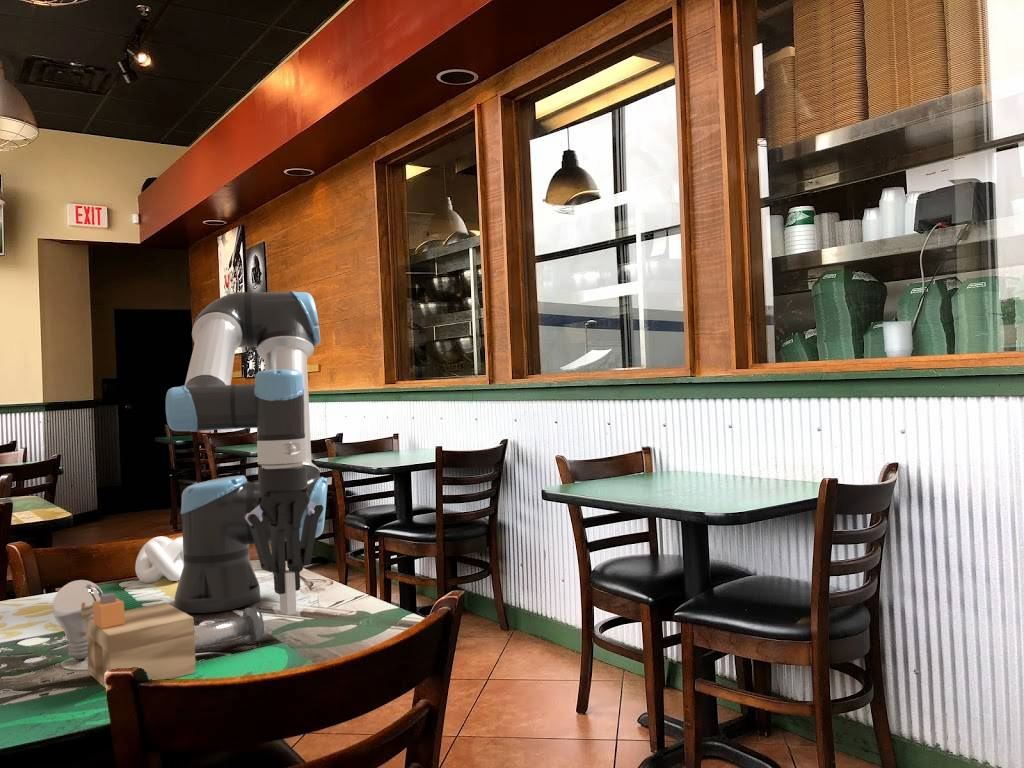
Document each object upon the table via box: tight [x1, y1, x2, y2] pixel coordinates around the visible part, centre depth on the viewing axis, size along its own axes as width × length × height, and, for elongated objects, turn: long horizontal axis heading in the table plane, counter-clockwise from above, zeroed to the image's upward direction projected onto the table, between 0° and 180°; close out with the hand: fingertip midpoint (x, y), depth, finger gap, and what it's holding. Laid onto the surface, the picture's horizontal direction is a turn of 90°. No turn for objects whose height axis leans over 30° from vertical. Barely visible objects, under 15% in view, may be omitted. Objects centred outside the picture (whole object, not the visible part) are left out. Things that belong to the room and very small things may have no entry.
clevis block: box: [86, 602, 197, 688], centre depth 115 cm, size 12×11×8 cm
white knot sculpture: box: [134, 535, 184, 584], centre depth 174 cm, size 11×12×9 cm
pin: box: [194, 606, 265, 649], centre depth 122 cm, size 5×13×5 cm, turn 131°
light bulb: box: [52, 579, 104, 662], centre depth 122 cm, size 7×7×12 cm
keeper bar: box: [93, 592, 125, 629], centre depth 113 cm, size 4×3×4 cm
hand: (288, 612), depth 130 cm, fingers closed
